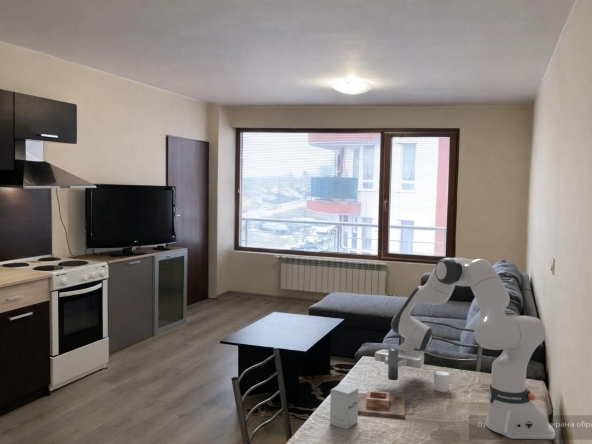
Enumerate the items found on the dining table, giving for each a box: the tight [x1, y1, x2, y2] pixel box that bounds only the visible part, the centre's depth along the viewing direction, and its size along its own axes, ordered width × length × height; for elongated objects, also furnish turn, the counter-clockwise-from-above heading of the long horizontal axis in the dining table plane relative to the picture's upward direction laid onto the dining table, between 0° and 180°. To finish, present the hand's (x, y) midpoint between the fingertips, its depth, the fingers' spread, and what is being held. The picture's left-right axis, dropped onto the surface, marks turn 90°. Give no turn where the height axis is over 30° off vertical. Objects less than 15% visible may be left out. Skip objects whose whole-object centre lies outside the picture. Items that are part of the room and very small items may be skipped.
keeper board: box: [358, 390, 406, 419], centre depth 204 cm, size 20×18×4 cm
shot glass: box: [433, 370, 451, 393], centre depth 223 cm, size 7×7×7 cm
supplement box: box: [329, 383, 359, 430], centre depth 189 cm, size 7×7×13 cm
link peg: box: [387, 347, 399, 381], centre depth 219 cm, size 4×4×12 cm
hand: (392, 363), depth 219 cm, fingers closed on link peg, 4 cm apart
